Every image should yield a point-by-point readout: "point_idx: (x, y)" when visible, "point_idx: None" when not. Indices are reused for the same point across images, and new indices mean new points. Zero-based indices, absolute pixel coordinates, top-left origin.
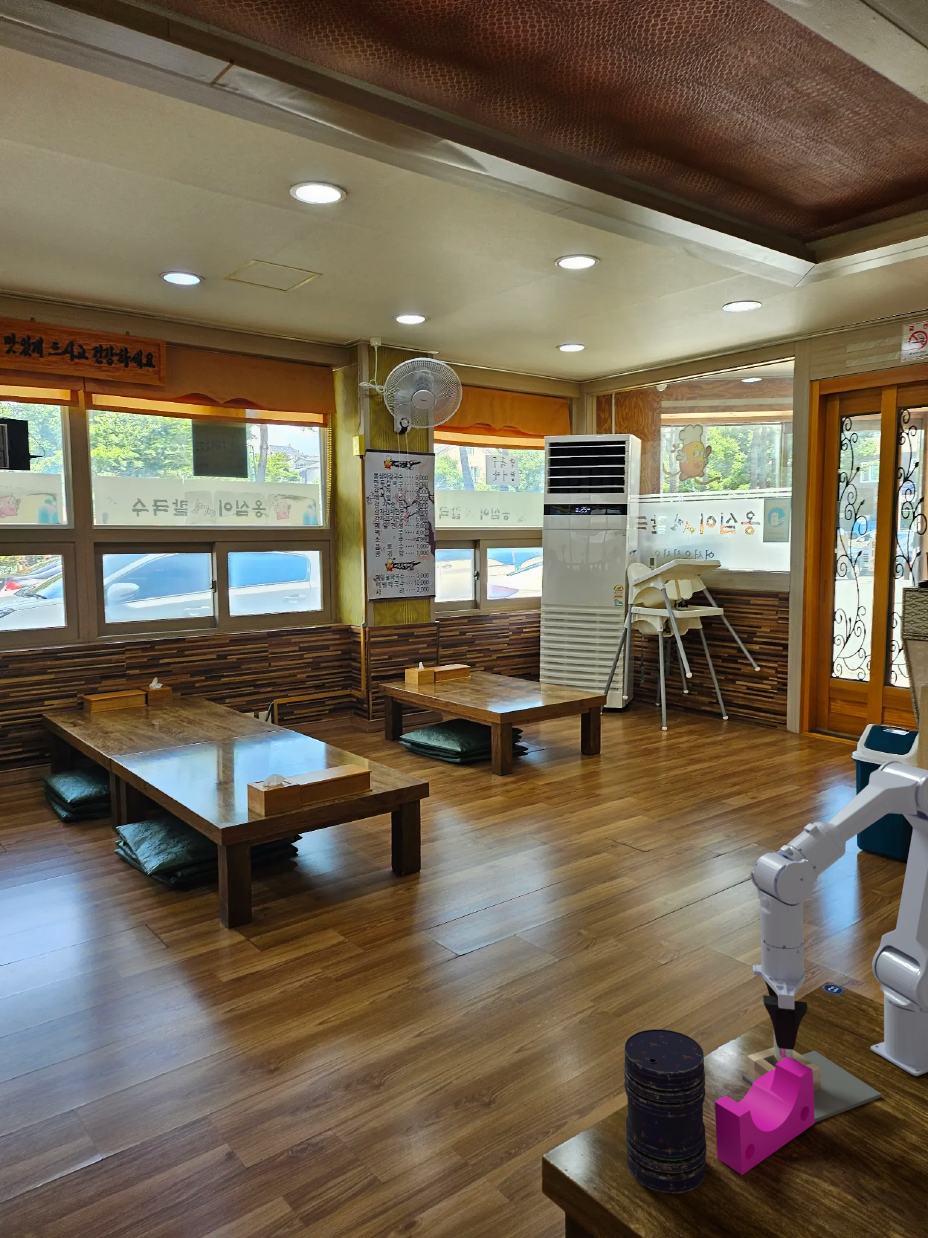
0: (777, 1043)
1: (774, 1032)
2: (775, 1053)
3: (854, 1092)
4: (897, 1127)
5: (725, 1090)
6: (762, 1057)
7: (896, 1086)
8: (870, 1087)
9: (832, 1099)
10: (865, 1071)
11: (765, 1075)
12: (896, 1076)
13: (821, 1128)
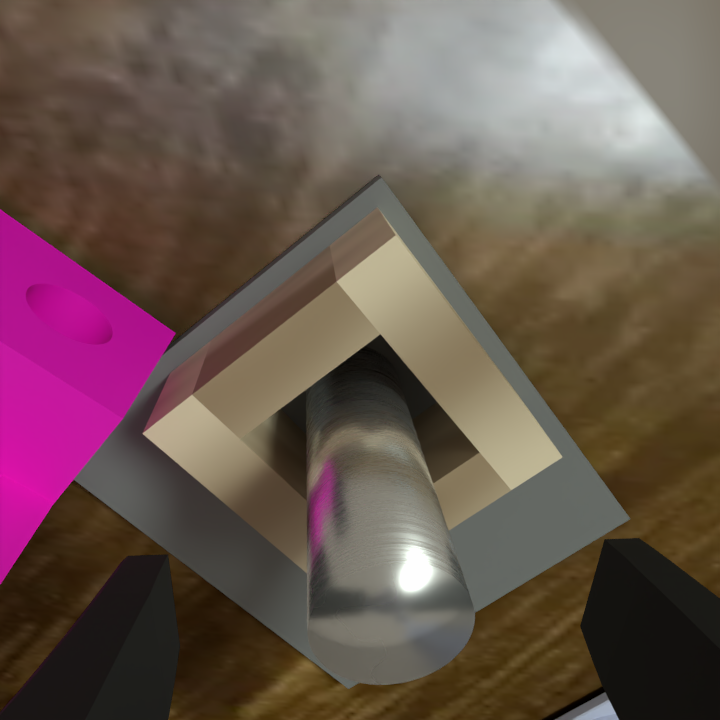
0: (100, 590)
1: (27, 681)
2: (338, 443)
3: None
4: (180, 701)
5: (233, 59)
6: (391, 335)
7: (426, 712)
8: None
9: (265, 557)
10: (508, 647)
11: (20, 369)
12: (486, 715)
13: (66, 499)
